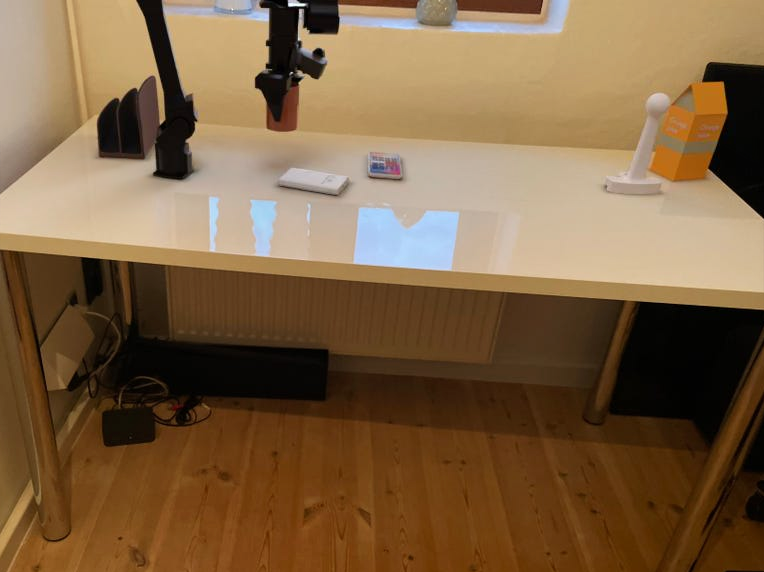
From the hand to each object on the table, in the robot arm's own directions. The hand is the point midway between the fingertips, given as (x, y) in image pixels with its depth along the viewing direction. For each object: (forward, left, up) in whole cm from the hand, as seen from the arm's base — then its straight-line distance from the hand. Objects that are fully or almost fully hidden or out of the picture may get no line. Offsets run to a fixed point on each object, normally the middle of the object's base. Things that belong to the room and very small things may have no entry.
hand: (281, 117), depth 148 cm
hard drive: (+8, -4, -12) cm, 15 cm away
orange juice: (+84, +33, -12) cm, 91 cm away
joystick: (+72, +19, -12) cm, 76 cm away
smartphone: (+20, +12, -12) cm, 26 cm away
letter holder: (-37, +6, -12) cm, 39 cm away
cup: (0, 0, -2) cm, 2 cm away
